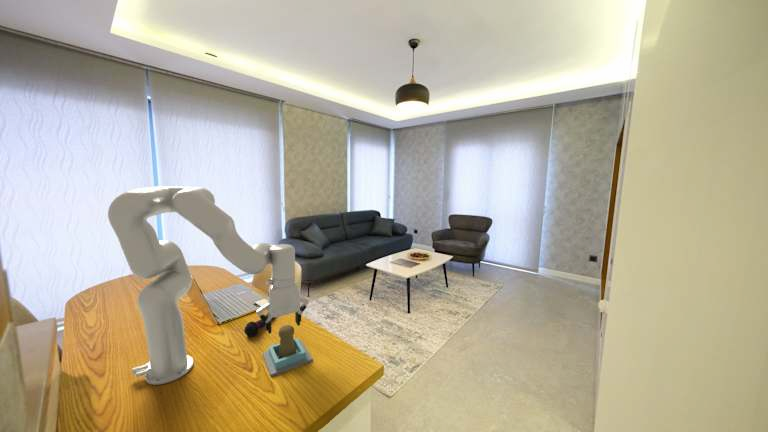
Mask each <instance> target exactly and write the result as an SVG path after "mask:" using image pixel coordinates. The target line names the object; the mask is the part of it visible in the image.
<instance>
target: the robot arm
mask: <svg viewBox="0 0 768 432" xmlns="http://www.w3.org/2000/svg"><path fill="white" fill-rule="evenodd" d="M215 202H216V201H215V197H214V195H213V193H212V192H211V191H210V190H208V189H207V188H205V187H199V186H192V187H191V186H186V187H185V186H153V187H152V186H151V187H143V188H137V189H130V190H128V191H125V192H123V193H121V194H119V195H118V196H117V197H115V198H114V199H113V200H112V202H111V203H110V204H109V207H108V212H107V217H108V221H109V224H110V226H111V228H112V230H113V232H114V233H115V235H116V237H117V239H118V242H119V245H120V247H121V250H122V252H123V254H124V257H125V259H126V262H127V264H128V266H129V270H130V271H131V272H132V274H133V275H134V276H135V277H136V278H139V279H140V280H141V279H142V280H147V279H152V278H154V277H157V278H155V279H153V280H152V281H150V282H149V283H148V284H146V285H145V286H144V287H143V288H141V290H140V292H139V293H138V295H137V298H136V301H137V308H138V310H139V312H140V313H141V314H140V315H141V317H142V320H143V325H144V331H145V332H144V333H145V337H146V346H147V352H148V358H149V362H148V363H147V362H146V363H145V365H144V364H143V365H140V366H136V367H132V369H131V373H132V375H133V376H134V375H135V377H136V378H139V377H143V376H144V379H145V382H146V383H147V384H149V385H157V386H158V385H163V384H168V383H171V382H174V381H176V380H178V379H180V378H181V377H182V378H183V376H185V375H186V374H188V373H189V371H190V370H191V369H192V368H193V366H194V359H193V357H192V356H190V355H187V354H188V353H187V344H186V343H187V342H186V336H185V327H184V326H185V325H184V318H183V314H182V312H181V309H180V308H179V305H178V303H179V302H178V301H179V300H180V299H181V298H182V297H183V296H185V294H186V293H187V292H188V291H189V290H190V289H191V287H192V284H193V283H192V275H191V271H190V270H189V267H188V264H187V261H186V259H185V256H184V253H183V252H182V249H181V248H180V247H179V246H178V245H177V244H176V243H175V242H173V241H171V240H167V239H163V240H159V238H158V236H157V232H156V230H155V229H154V227H153V226H152V225H151V223H149V221H148V219H149V218H150V217H154V216H158V215H162V214H165V213H177V214H178V215H179V216H180V217H182V218H184V220H186V221H187V222H189V223H190V224H191V225H193V226H194V227H195V228H197V229H198V230H199V231H201V232H202V233H203V234H205V235H206V236H207V237H209V238H210V239H211V240H212V242H213V243H214V245H215V247H216V248H217V250H218V251H219V253H220V254H221V256H223V257H224V258H225V259H226V260H227V261H228V262H229V263H230V264H232V265H233V266H235V267H236V268H237V269H238V270H240V271H242V272H244V273H246V274H249V275H257V274H261V273H262V272H263V271H264V270H265V269H266V268H267V266H268V265H270V269H271V272H270V273H271V274H270V275H271V276H270V279H269V280H268V279H267V280H266V285H269V287H268V293H267V300H266V301H267V303H265V304H264V305H262V306H260V307H259V308H258V309H256V311H255V312H256V314H257V316H258V317H259V320H261V319H262V320H263V321H265V326H264V328H265V331H267V333H268V334H271V333H272V320H271V319H272V318H273V317H275V318H278V317H284V316H288V315H291V314H295V315H294V316H295V319H294V320H295V324H296V325H297V326H300V325H301V322H302V315H303V313H304V311H305V310H306V308H307V307H308V304H309V299H308V298H305V297H301V296H300V289H299V284H298V283H297V282H296V249H295V247H294V246H293V245H292V244H286V243H280V244H272V243H266V242H258V243H255V244H253V245H249V244H248V243H247V242H246V241H245V240H244V239H243V238H242V237H241V236H240V234H239V233H238V232H237V229H236V226H235V221H234V219H233V217H232V216H230V215H229V214H227V213H226V212H225V211H223V210H222V209H221V208H220V207H219V206H217V204H215ZM301 303H302V304H301ZM266 310H267V313H266V314H264V312H265V311H266ZM270 320H271V321H270Z"/></svg>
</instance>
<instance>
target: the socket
mask: <svg viewBox="0 0 768 432" xmlns="http://www.w3.org/2000/svg"><path fill="white" fill-rule="evenodd" d="M293 339H294V344H295V349H296V354H293V355H290V356H287V357H284V358H281V359H279V348H280V342H278V343H276V344H272V345H269V346H268V350H266V351H263V352H262V357H263V359H264V363H265V365H266V367H267V371H268V373H269V376H270V378H271V377H274V376H278V375H280V374H283V373H285V372H288V371H291V370H293V369H295V368H298V367H300V366H303V365H305V364H308V363H311V362H313V361H314V360H313V357H312V355H311V354H310V352H309V351H308V348H307V347H306V345H305V344H304V342H303V340H302V339H300V340H299V339H298V337H293Z"/></svg>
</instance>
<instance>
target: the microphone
mask: <svg viewBox="0 0 768 432" xmlns="http://www.w3.org/2000/svg"><path fill="white" fill-rule="evenodd" d="M274 319H276V317H273V318H272V319H271V320H270V321H271V322H272V321H273V320H274ZM263 328H265V321H263V320H262V319H259V320H256V321H250V322H247V324H246V325H245V327H244V329H243V330H244V334H245V335H246V336H248V337H254V336H256V335H258V334H259V330H260V329H263Z"/></svg>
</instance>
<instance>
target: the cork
mask: <svg viewBox="0 0 768 432" xmlns="http://www.w3.org/2000/svg"><path fill="white" fill-rule="evenodd" d="M294 334H295V328H294V326H293V325H290V324H286V325H283V326H281V327H280V328H279V330H278V336H279V338H280V340H279V343H280V348H279V359H281V358H284V357H287V356H290V355H293V354H296V349H295V344H294Z"/></svg>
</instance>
